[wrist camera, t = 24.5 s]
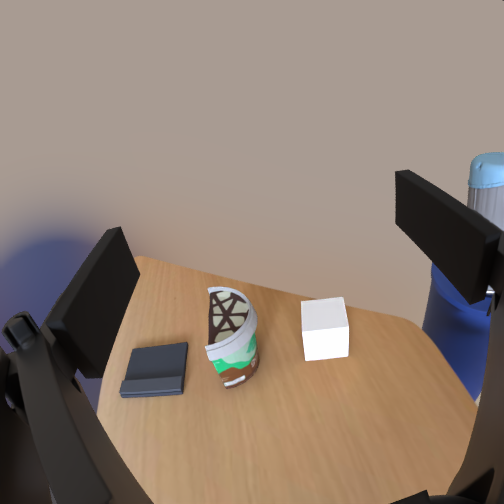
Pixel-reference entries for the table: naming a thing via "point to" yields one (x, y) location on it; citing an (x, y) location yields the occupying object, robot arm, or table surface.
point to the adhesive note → (325, 328)
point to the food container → (232, 336)
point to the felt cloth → (155, 371)
